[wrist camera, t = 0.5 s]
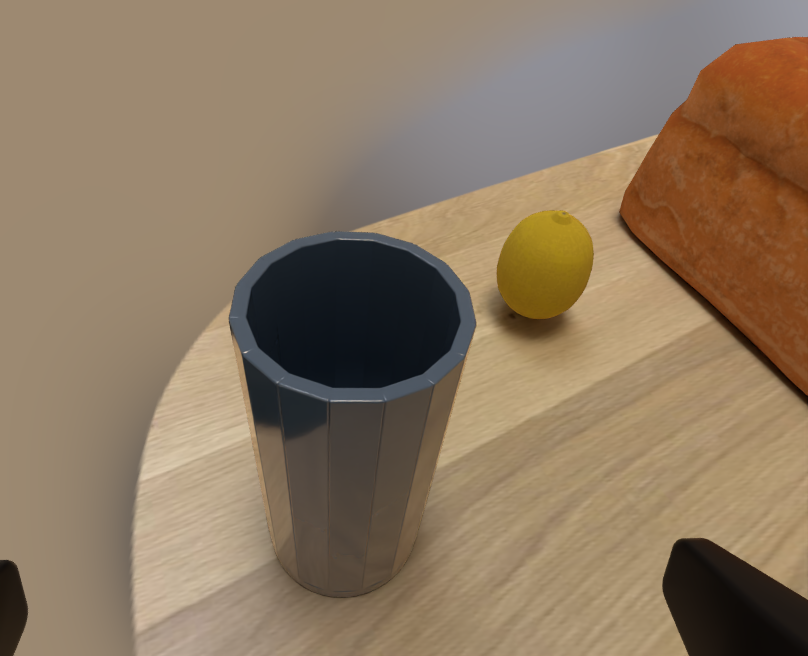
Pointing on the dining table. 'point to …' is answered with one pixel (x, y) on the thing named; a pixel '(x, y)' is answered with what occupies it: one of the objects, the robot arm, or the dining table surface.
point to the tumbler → (348, 398)
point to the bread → (737, 195)
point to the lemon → (545, 264)
